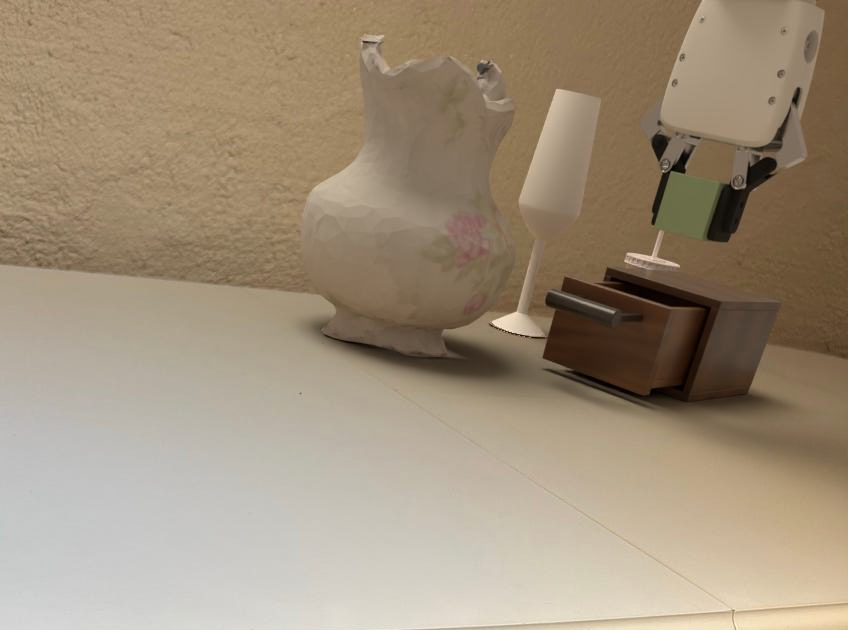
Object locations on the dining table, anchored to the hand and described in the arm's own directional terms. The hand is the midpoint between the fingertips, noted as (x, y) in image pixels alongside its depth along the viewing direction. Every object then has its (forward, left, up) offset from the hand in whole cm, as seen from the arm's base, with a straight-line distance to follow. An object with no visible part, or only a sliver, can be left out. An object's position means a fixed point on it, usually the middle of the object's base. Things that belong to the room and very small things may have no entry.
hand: (689, 231), depth 86 cm
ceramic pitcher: (+22, +8, -15) cm, 28 cm away
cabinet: (+6, -18, -15) cm, 24 cm away
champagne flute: (+24, -16, -15) cm, 32 cm away
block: (0, 0, 0) cm, 0 cm away
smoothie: (+18, -31, -15) cm, 39 cm away
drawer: (+6, -6, -14) cm, 17 cm away
